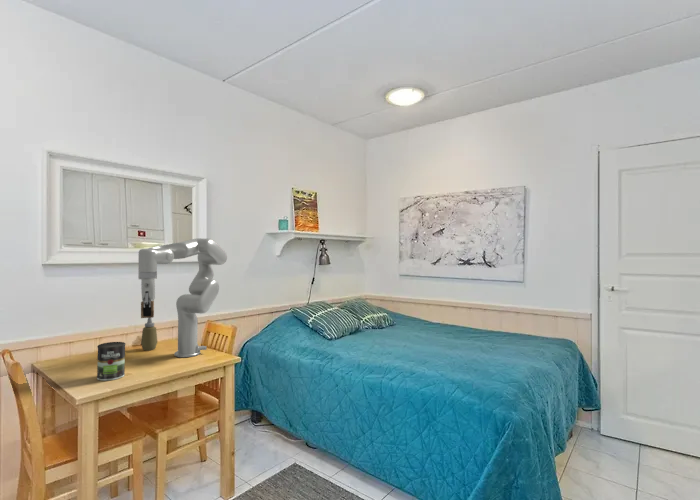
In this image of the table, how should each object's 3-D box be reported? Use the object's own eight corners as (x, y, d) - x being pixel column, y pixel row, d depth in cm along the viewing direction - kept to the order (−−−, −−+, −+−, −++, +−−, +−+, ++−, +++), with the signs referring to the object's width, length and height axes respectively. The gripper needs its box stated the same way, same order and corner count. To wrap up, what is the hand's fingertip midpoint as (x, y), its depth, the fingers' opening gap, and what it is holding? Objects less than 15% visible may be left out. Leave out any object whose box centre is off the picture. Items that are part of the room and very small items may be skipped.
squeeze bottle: (144, 347, 214) (145, 315, 214) (159, 347, 215) (160, 315, 215) (138, 351, 206) (138, 318, 206) (153, 351, 207) (154, 318, 207)
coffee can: (124, 378, 163) (124, 345, 163) (95, 382, 159) (95, 348, 159) (125, 371, 173) (126, 340, 173) (98, 375, 168) (98, 342, 168)
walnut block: (153, 315, 180) (153, 300, 180) (153, 317, 176) (153, 302, 175) (141, 316, 178) (141, 301, 178) (140, 318, 174) (140, 302, 173)
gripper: (155, 277, 170) (155, 317, 171) (157, 274, 186) (157, 311, 186) (136, 277, 167) (136, 319, 168) (140, 274, 183) (140, 312, 183)
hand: (147, 314), depth 177 cm, fingers closed on walnut block, 5 cm apart
